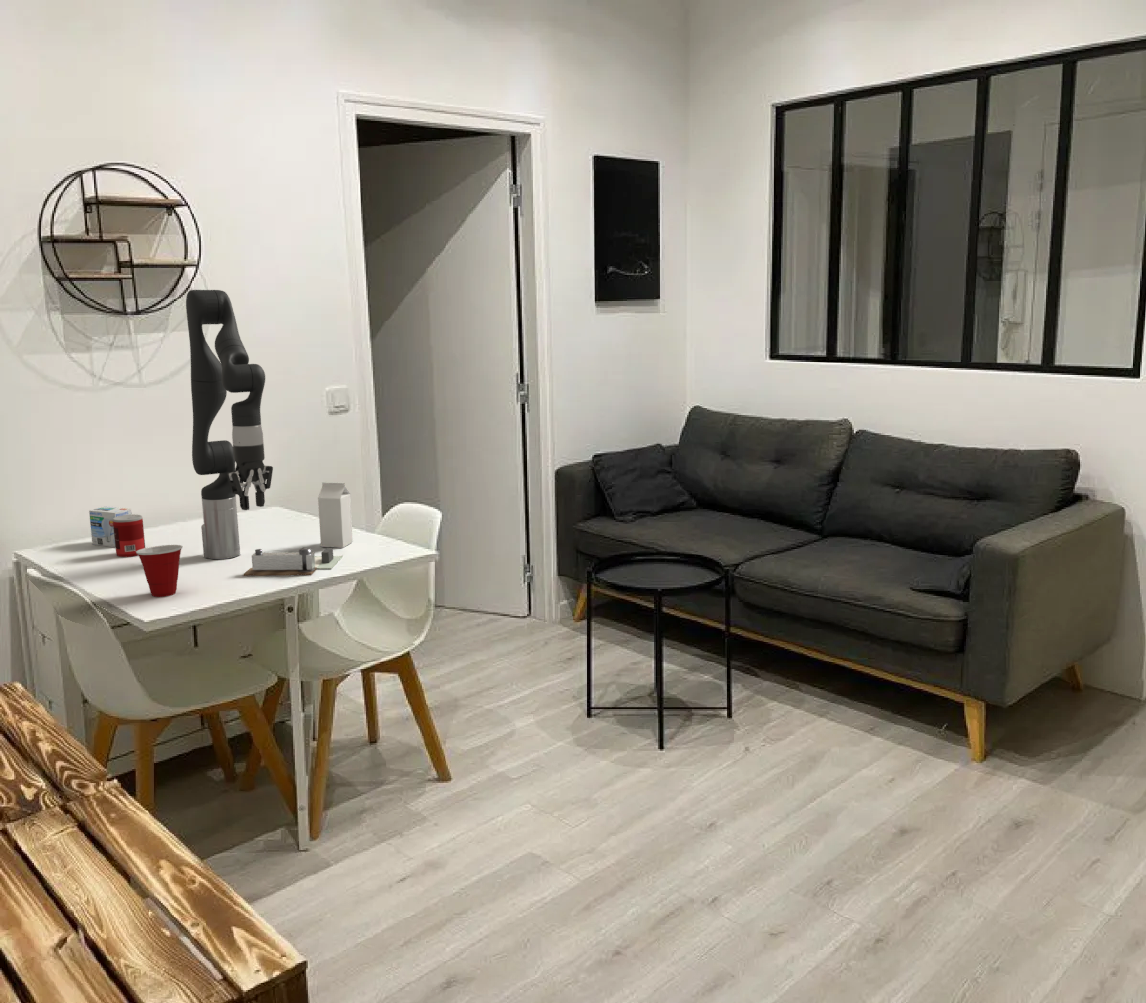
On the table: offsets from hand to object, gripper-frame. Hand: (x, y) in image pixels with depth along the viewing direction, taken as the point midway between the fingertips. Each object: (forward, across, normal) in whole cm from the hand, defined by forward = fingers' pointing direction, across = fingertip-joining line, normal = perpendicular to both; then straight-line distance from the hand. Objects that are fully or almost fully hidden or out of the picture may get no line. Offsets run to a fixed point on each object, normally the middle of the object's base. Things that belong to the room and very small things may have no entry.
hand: (252, 507), depth 260 cm
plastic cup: (+20, -20, +12) cm, 31 cm away
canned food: (+20, +3, +54) cm, 58 cm away
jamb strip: (+19, +8, 0) cm, 21 cm away
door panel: (+19, +17, +3) cm, 26 cm away
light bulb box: (+20, +9, +70) cm, 73 cm away
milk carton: (+20, +39, +8) cm, 44 cm away
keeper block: (+19, +22, -4) cm, 29 cm away
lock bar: (+18, +8, -1) cm, 20 cm away
